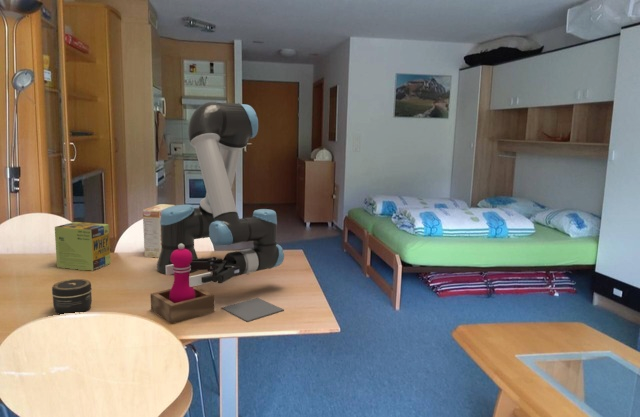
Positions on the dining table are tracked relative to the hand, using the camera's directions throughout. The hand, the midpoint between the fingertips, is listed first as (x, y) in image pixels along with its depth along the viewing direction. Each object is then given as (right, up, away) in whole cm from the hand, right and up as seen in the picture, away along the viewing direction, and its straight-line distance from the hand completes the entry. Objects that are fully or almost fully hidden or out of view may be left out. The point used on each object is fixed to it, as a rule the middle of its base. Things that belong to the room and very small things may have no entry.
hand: (177, 275), depth 136 cm
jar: (-31, -10, +2) cm, 32 cm away
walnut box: (+1, -11, +3) cm, 11 cm away
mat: (+20, -11, +6) cm, 24 cm away
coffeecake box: (-26, 0, +65) cm, 70 cm away
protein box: (-48, -3, +45) cm, 66 cm away
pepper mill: (+1, -11, +3) cm, 11 cm away
